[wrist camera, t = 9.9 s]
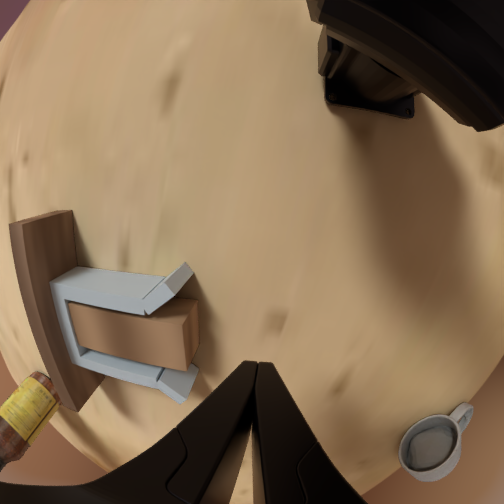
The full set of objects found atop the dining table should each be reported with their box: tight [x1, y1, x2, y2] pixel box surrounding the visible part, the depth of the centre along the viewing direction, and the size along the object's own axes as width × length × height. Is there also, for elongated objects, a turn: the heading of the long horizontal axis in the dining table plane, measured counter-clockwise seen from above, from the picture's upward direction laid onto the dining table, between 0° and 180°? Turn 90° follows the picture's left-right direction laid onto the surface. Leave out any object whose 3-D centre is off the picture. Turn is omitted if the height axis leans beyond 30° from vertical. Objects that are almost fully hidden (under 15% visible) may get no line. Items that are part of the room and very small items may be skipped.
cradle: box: [49, 262, 199, 404], centre depth 20 cm, size 11×11×4 cm
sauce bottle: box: [0, 372, 62, 472], centre depth 18 cm, size 7×6×20 cm
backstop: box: [9, 210, 105, 412], centre depth 19 cm, size 2×18×6 cm, turn 177°
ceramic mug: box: [398, 402, 473, 482], centre depth 19 cm, size 11×8×8 cm
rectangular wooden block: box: [68, 297, 200, 371], centre depth 20 cm, size 10×4×4 cm, turn 88°
